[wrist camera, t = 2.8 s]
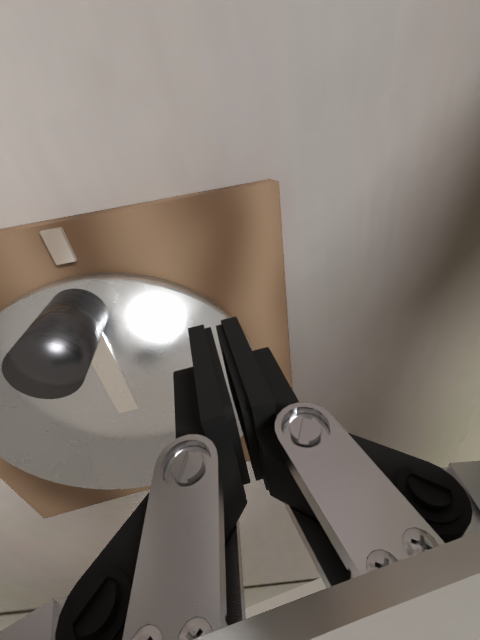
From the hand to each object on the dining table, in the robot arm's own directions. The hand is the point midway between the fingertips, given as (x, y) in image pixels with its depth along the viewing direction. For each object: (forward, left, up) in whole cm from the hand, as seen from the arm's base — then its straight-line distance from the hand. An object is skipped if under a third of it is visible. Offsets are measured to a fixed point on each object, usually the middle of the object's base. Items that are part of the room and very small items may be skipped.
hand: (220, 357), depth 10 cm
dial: (+6, +7, -7) cm, 11 cm away
